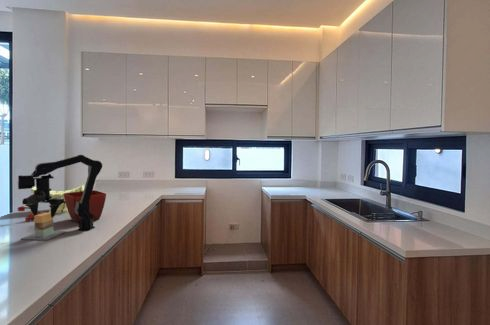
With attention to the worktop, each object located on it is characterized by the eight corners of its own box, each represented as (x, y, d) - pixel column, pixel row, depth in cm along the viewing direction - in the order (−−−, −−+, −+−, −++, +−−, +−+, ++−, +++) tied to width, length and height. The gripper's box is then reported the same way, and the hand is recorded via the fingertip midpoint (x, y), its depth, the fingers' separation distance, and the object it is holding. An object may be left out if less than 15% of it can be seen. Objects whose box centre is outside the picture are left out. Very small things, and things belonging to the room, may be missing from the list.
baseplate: (66, 232, 161) (66, 224, 161) (47, 240, 147) (47, 232, 147) (41, 231, 162) (41, 223, 162) (20, 239, 148) (20, 231, 148)
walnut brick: (53, 226, 158) (53, 219, 157) (43, 230, 151) (43, 223, 151) (45, 225, 158) (45, 219, 158) (34, 229, 151) (34, 222, 151)
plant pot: (107, 219, 189) (106, 193, 188) (74, 225, 175) (73, 197, 174) (95, 214, 202) (94, 190, 201) (63, 219, 188) (63, 193, 187)
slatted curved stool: (84, 206, 226) (84, 183, 225) (82, 211, 211) (81, 186, 210) (37, 210, 214) (37, 185, 213) (32, 214, 199) (31, 188, 198)
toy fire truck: (45, 219, 189) (45, 204, 188) (19, 223, 178) (18, 207, 178) (44, 218, 191) (43, 203, 190) (17, 222, 180) (17, 206, 180)
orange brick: (53, 219, 157) (53, 212, 157) (42, 223, 150) (42, 216, 150) (45, 219, 158) (45, 212, 158) (34, 222, 151) (34, 215, 151)
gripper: (12, 189, 146) (14, 220, 147) (48, 190, 144) (49, 221, 145) (30, 186, 157) (31, 215, 158) (64, 187, 156) (65, 216, 157)
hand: (44, 217), depth 154 cm, fingers open, 9 cm apart
